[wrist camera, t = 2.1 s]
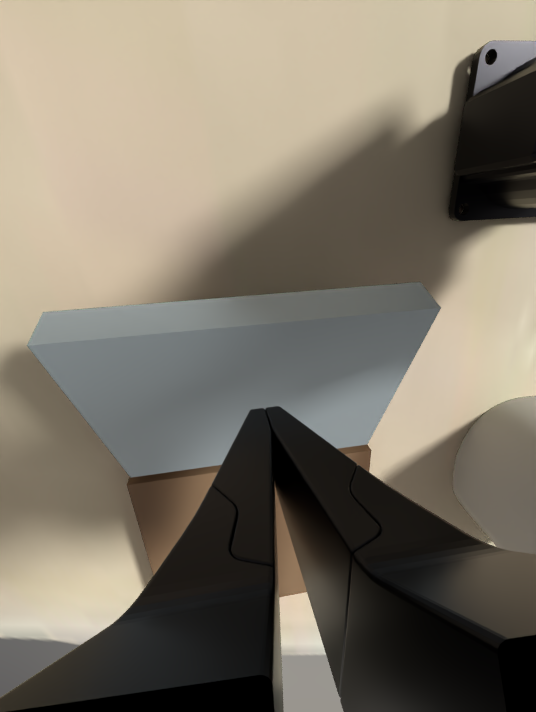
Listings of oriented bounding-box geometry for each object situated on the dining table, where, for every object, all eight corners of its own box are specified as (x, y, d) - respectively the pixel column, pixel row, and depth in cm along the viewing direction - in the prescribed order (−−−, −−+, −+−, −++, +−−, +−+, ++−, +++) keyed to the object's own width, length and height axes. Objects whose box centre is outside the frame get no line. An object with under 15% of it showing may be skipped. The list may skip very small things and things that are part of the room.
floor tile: (420, 281, 12) (441, 308, 11) (358, 421, 19) (367, 444, 18) (43, 312, 10) (27, 345, 9) (134, 450, 18) (130, 477, 17)
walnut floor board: (359, 433, 20) (371, 450, 19) (349, 560, 25) (357, 582, 23) (134, 464, 18) (126, 485, 17) (169, 593, 23) (166, 618, 22)
